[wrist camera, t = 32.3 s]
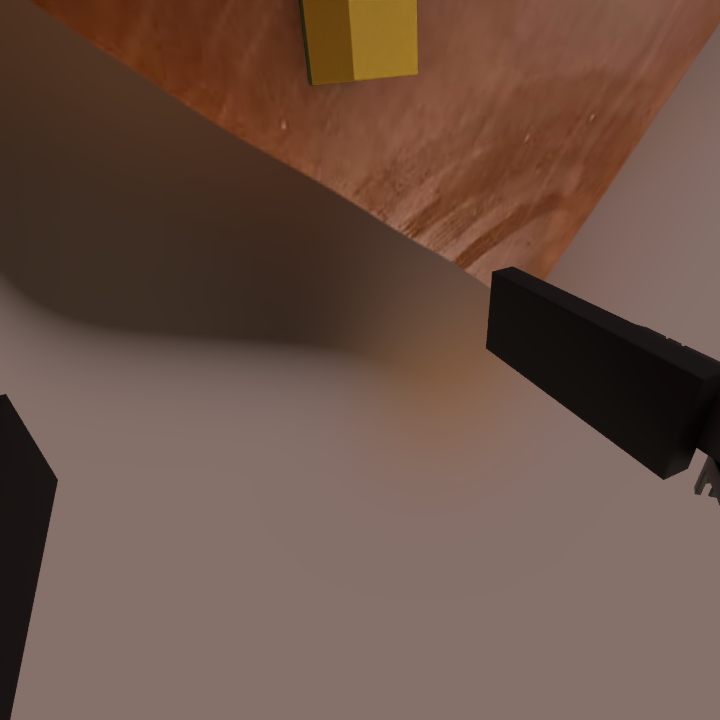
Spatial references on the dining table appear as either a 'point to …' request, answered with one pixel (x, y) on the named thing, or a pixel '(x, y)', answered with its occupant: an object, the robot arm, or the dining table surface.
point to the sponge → (359, 39)
